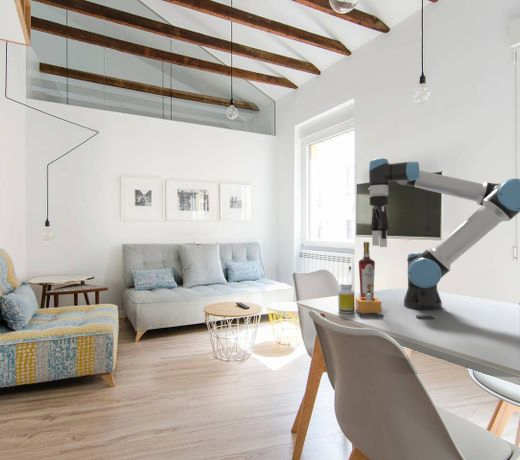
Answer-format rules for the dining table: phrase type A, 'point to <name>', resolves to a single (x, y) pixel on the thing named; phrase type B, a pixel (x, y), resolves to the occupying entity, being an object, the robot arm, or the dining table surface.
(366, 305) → the square wooden frame
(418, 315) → the grey rectangular block
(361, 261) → the liquor
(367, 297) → the keeper
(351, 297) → the pill bottle
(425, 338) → the dining table surface
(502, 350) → the dining table surface
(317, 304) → the dining table surface
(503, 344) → the dining table surface
